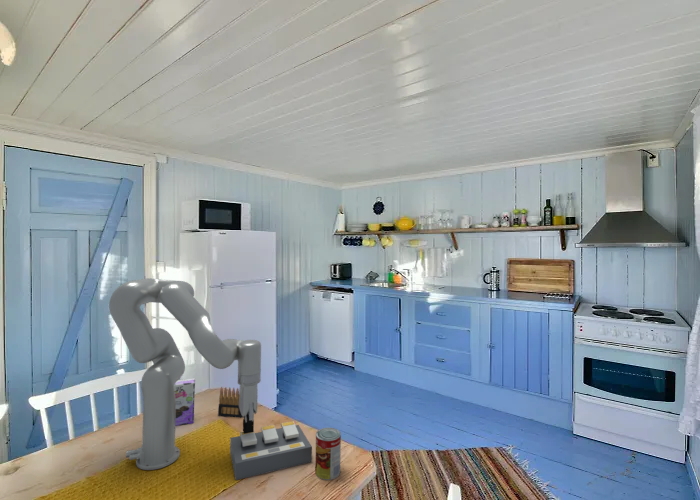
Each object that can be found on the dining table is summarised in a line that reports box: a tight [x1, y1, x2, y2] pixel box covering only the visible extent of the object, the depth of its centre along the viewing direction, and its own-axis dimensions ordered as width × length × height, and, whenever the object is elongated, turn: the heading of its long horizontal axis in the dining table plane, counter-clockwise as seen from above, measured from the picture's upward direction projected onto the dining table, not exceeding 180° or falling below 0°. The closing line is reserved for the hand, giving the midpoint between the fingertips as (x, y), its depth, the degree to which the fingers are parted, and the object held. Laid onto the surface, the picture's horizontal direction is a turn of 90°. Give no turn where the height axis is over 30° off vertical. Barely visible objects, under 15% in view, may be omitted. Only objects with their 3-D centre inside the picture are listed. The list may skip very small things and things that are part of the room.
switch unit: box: [229, 424, 313, 481], centre depth 117 cm, size 24×16×6 cm, turn 114°
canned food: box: [314, 427, 342, 481], centre depth 110 cm, size 8×8×12 cm
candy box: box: [174, 377, 196, 427], centre depth 140 cm, size 14×6×16 cm, turn 112°
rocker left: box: [239, 431, 257, 447], centre depth 116 cm, size 4×7×1 cm, turn 24°
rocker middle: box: [260, 424, 278, 444], centre depth 119 cm, size 4×7×1 cm, turn 24°
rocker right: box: [280, 420, 299, 439], centre depth 121 cm, size 4×7×1 cm, turn 24°
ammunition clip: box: [217, 386, 243, 419], centre depth 146 cm, size 11×2×12 cm, turn 83°
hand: (248, 431), depth 119 cm, fingers closed
